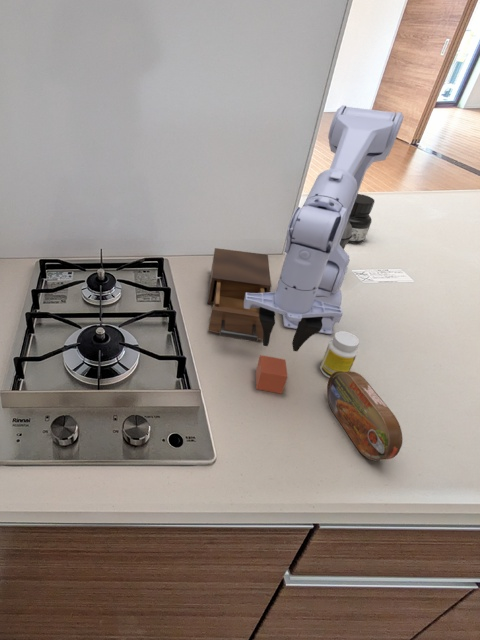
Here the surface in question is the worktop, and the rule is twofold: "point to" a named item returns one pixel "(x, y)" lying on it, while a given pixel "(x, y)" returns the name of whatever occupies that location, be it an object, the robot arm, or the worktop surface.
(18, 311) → the worktop surface
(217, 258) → the cabinet
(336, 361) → the supplement bottle
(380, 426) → the tin
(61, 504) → the worktop surface
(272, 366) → the block
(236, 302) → the drawer
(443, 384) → the worktop surface
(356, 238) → the ink bottle
